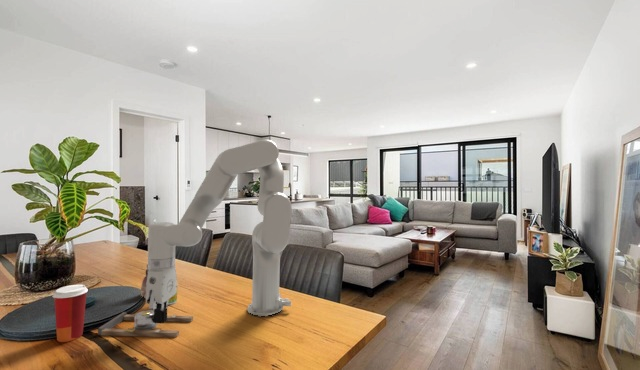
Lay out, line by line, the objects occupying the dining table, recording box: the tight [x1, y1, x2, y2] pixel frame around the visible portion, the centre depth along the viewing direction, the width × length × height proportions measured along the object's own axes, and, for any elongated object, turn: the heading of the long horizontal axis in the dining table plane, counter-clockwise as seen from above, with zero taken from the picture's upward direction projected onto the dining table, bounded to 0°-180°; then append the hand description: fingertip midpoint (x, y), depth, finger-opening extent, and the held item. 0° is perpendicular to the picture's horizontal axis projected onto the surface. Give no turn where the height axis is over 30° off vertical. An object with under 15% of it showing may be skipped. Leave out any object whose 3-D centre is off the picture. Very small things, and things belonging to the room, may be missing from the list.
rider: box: [133, 309, 158, 330], centre depth 91 cm, size 6×6×4 cm
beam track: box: [97, 311, 194, 338], centre depth 91 cm, size 23×11×2 cm, turn 89°
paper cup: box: [51, 284, 89, 343], centre depth 85 cm, size 8×8×14 cm
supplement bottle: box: [168, 291, 178, 306], centre depth 110 cm, size 5×5×10 cm
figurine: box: [140, 263, 148, 299], centre depth 117 cm, size 7×7×12 cm
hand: (160, 321), depth 91 cm, fingers closed
